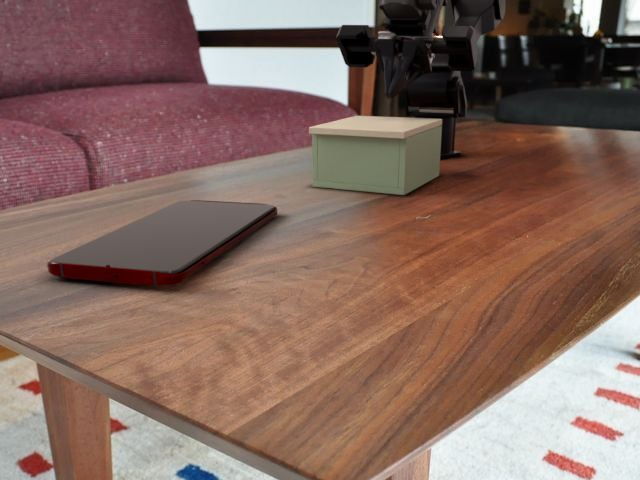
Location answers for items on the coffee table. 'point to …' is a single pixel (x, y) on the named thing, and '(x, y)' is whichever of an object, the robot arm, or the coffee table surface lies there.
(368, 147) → the case
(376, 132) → the cover
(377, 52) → the robot arm
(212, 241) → the smartphone
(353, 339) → the coffee table surface
